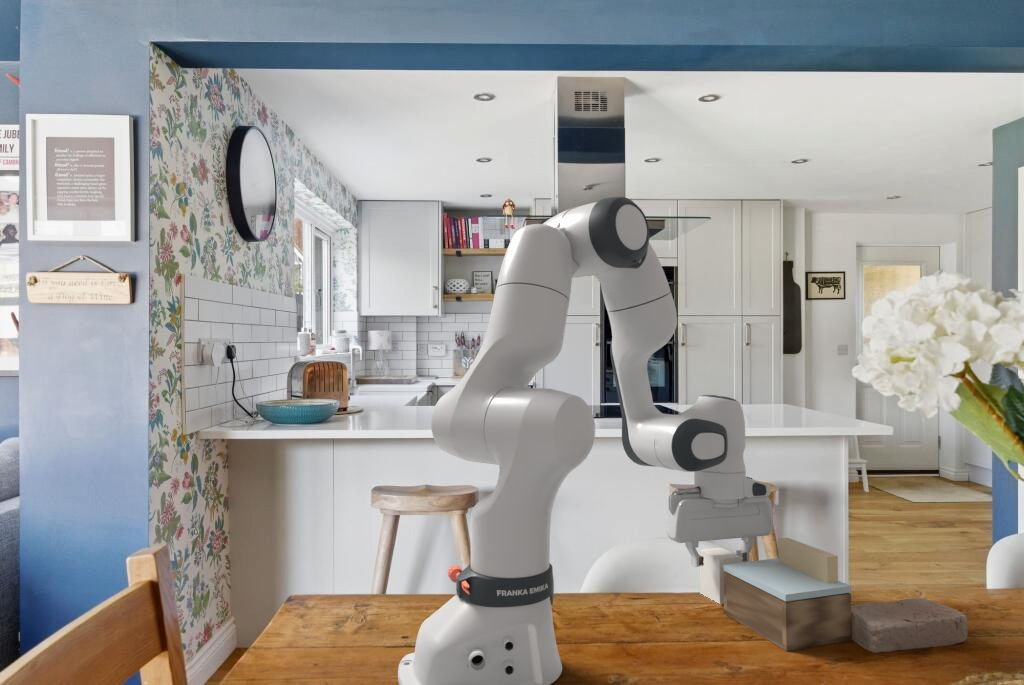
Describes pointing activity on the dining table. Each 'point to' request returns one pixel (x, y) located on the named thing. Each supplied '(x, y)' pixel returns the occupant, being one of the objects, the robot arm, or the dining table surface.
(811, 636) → the dark wood box
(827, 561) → the lid
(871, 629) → the brick
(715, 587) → the block
